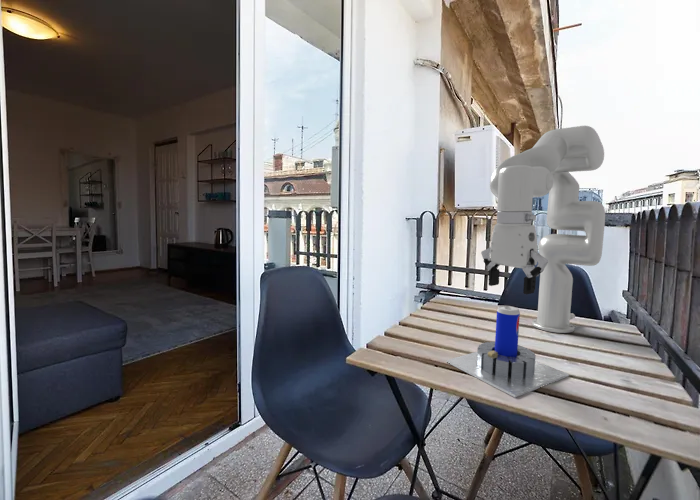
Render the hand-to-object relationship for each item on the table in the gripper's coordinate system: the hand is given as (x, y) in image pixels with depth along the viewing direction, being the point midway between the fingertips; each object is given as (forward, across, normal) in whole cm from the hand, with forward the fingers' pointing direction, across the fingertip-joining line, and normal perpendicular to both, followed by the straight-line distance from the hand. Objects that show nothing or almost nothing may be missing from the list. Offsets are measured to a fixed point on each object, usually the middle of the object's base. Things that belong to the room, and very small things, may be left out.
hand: (510, 289), depth 87 cm
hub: (+20, 0, +1) cm, 20 cm away
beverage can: (+20, 0, +1) cm, 20 cm away
